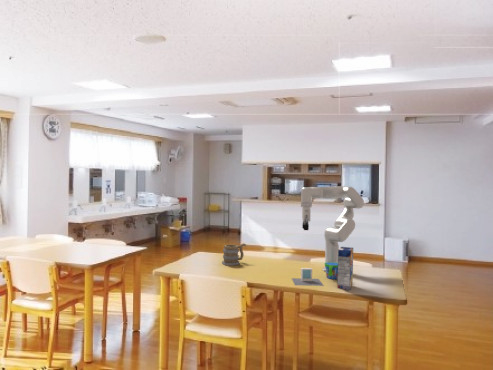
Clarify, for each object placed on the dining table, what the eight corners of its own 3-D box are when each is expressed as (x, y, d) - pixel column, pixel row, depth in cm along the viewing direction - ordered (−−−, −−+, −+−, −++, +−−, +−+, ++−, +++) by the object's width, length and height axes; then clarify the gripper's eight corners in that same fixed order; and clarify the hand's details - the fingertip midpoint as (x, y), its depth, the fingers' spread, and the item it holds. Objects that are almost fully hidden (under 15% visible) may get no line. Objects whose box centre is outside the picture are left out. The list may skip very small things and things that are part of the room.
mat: (318, 279, 264) (318, 278, 264) (323, 286, 247) (323, 285, 247) (291, 279, 264) (291, 278, 264) (294, 286, 247) (294, 285, 247)
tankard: (227, 266, 299) (227, 246, 299) (219, 262, 310) (220, 243, 310) (250, 263, 309) (250, 244, 309) (242, 260, 320) (242, 242, 320)
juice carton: (340, 284, 254) (341, 246, 254) (352, 285, 251) (353, 247, 251) (337, 288, 243) (338, 249, 242) (349, 290, 240) (350, 250, 240)
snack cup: (328, 275, 277) (328, 260, 277) (343, 277, 272) (343, 262, 272) (321, 280, 264) (321, 264, 263) (336, 282, 259) (337, 266, 258)
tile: (311, 280, 260) (311, 268, 260) (312, 281, 258) (312, 268, 257) (300, 280, 260) (301, 267, 259) (301, 281, 257) (301, 268, 257)
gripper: (313, 205, 270) (312, 231, 270) (310, 204, 288) (309, 228, 288) (302, 205, 271) (301, 230, 271) (299, 204, 288) (298, 227, 288)
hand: (305, 229), depth 279 cm, fingers open, 9 cm apart
